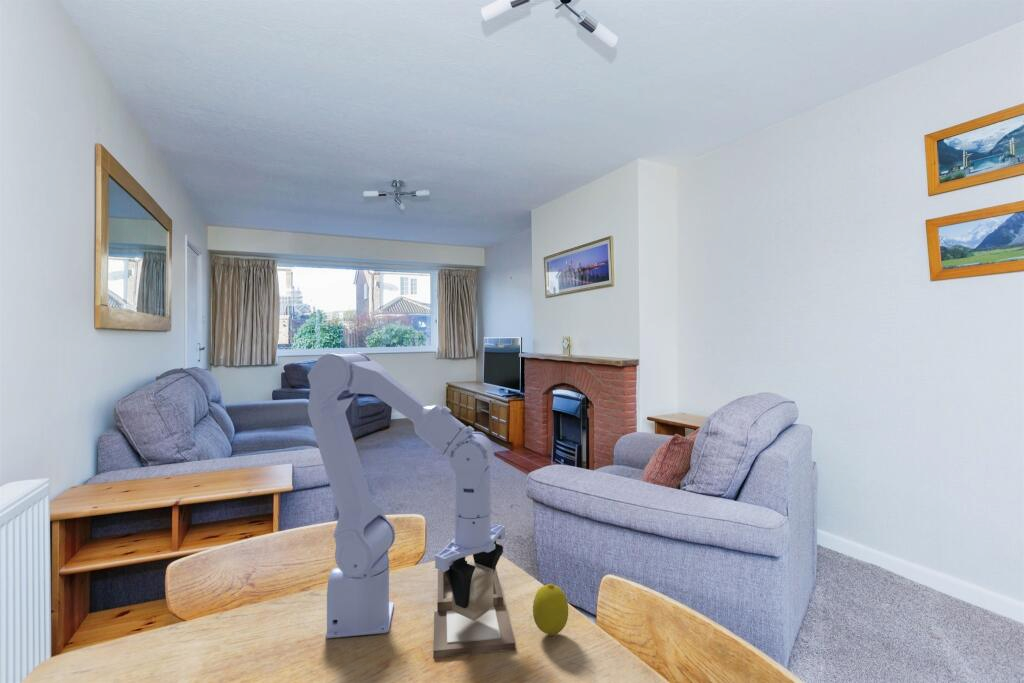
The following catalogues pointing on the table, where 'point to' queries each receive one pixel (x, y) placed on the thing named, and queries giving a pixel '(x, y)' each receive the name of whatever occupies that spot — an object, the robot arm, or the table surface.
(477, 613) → the block
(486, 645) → the brown divided tray
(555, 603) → the lemon
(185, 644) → the table surface
